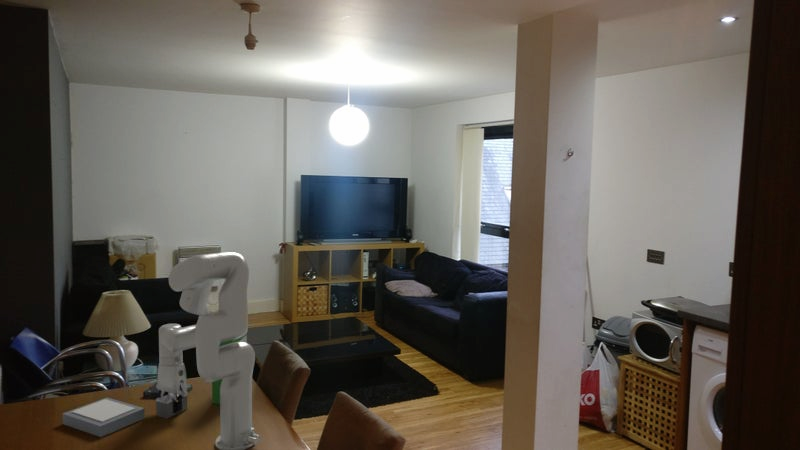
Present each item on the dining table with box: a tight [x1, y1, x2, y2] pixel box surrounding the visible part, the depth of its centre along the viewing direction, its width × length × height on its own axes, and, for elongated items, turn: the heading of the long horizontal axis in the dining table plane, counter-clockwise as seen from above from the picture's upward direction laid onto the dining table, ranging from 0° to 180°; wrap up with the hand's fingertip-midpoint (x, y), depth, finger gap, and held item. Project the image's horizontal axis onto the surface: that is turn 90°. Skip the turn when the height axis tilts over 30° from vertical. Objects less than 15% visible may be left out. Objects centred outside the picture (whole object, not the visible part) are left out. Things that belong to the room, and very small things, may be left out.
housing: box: [155, 393, 188, 420], centre depth 193 cm, size 5×9×6 cm, turn 153°
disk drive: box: [142, 382, 193, 399], centre depth 211 cm, size 10×3×15 cm
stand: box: [61, 397, 146, 438], centre depth 186 cm, size 20×16×4 cm
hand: (172, 409), depth 194 cm, fingers closed on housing, 5 cm apart
